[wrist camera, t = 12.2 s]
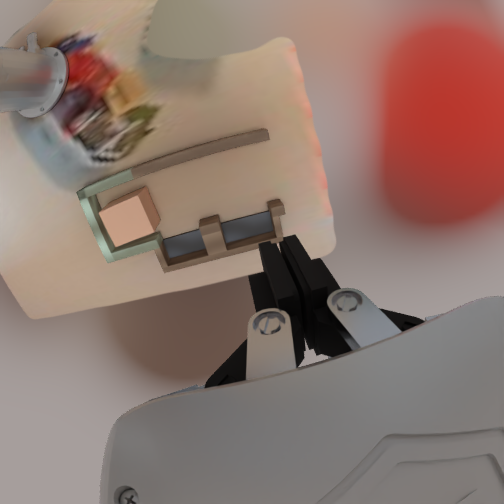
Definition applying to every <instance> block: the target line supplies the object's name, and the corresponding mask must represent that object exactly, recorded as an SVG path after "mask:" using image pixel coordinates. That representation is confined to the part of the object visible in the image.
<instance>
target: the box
mask: <svg viewBox="0 0 504 504" xmlns="http://www.w3.org/2000/svg"><path fill="white" fill-rule="evenodd" d="M266 140H270V138H269V133H268V129H260V130H255V131H251V132H247V133H242V134H238V135H234V136H230V137H226V138H222V139H218V140H215V141H211V142H208V143H204V144H200V145H197V146H194V147H190V148H187V149H184V150H181V151H177V152H174V153H171V154H168V155H165V156H162V157H159V158H156V159H153V160H151V161H148V162H145V163H142V164H140V165H137V166H134V167H132V168H129V169H126V170H124V171H121V172H119V173H116V174H114V175H111V176H109V177H107V178H104V179H102V180H99V181H97V182H95V183H93V184H90V185H88V186H86V187H84V188H82V189H81V190H79V191H78V192H76V193H77V195H78V198H79V200H80V203H81V205H82V208H83V210H84V213H85V215H86V218H87V220H88V222H89V225H90V227H91V229H92V231H93V234H94V236H95V238H96V240H97V242H98V245H99V247H100V249H101V251H102V253H103V255H104V257H105V259H106V261H107V263H110V262H114V261H117V260H120V259H124V258H127V257H130V256H134V255H137V254H140V253H144V252H147V251H151V250H154V251H155V253H156V255H157V258H158V260H159V262H160V264H161V267H162V269H163V271H164V273H166V272H170V271H174V270H178V269H182V268H185V267H189V266H193V265H197V264H201V263H205V262H208V261H212V260H216V259H220V258H224V257H228V256H231V255H235V254H239V253H243V252H247V251H250V250H254V249H258V248H259V246H258V243H262V242H266V241H271V243H276V244H277V243H279V242H280V241H283V233H282V228H281V223H280V218H279V216H280V215H284V214H285V210H284V205H283V204H282V202H281V201H280V199H278V200H274V201H270V202H267V203H268V208H269V211H266V212H262V213H258V214H254V215H251V216H247V217H243V218H239V219H235V220H232V221H228V222H224V223H220V220H219V216H218V215H216V216H212V217H209V218H205V219H202V220H200V223H199V229H198V230H195V231H191V232H188V233H184V234H181V235H177V236H174V237H170V238H167V239H162V236H161V234H160V232H157V233H154V234H150V235H147V236H144V237H141V238H138V239H135V240H133V241H130V242H128V243H125V244H123V245H120V246H118V247H115V245H114V243H113V241H112V239H111V237H110V235H109V233H108V231H107V229H106V227H105V225H104V223H103V221H102V219H101V217H100V215H99V212H100V211H101V208H100V206H99V203H98V201H97V198H96V195H95V194H97V193H100V192H102V191H104V190H107V189H109V188H112V187H114V186H117V185H119V184H122V183H125V182H127V181H130V180H133V179H135V178H138V177H141V176H144V175H146V174H149V173H152V172H155V171H158V170H161V169H164V168H167V167H170V166H173V165H176V164H179V163H183V162H186V161H189V160H193V159H196V158H199V157H203V156H206V155H210V154H213V153H217V152H221V151H225V150H228V149H232V148H236V147H240V146H244V145H249V144H253V143H257V142H262V141H266Z"/></svg>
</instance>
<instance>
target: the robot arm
mask: <svg viewBox="0 0 504 504" xmlns="http://www.w3.org/2000/svg"><path fill="white" fill-rule="evenodd" d="M27 45H28V50H27V51H26V50H25V46H22V47H20V48H19V49H18V50H17V49H11V48H5V47H0V113H1V112H8V111H16V110H17V111H18V112H19V113H20V114H21V115H22V116H25V117H29V118H33V117H38V116H41V115H43V114H45V113H47V112H48V111H49V110H50V109H52V108H53V106H54V105H55V104H56V103H57V102H58V100H59V99H60V97H61V95H62V93H63V91H64V89H65V86H66V84H67V79H68V72H69V68H68V61H67V58H66V56H65V54H64V53H63V52H62V51H61V50H59V49H57V48H53V47H46V48H42V49H40V46H39V45H37V33H36V32H33V33H30V34H29V35H28V36H27ZM62 81H63V82H62ZM279 245H280V251H281V253H280V251H279V248H278V246H277V244H276V243H271V241H266V242H262V243H258V246H259V251H260V256H261V260H262V265H263V270H264V272H261V273H257V274H253V275H249V276H248V277H249V282H250V286H251V291H252V295H253V300H254V304H255V309H256V314H255V315H253V316H252V317H251V319H250V320H249V323H248V338H247V339H246V340H245V341H244V342H243V343H242V344H241V345H240V346H239V348H238V349H237V350H236V351H235V352H234V353H233V354H232V355H231V356H230V357H229V358H228V359H227V360H226V361H225V362H224V363H223V364H222V365H221V366H220V367H219V369H217V370H216V372H215V373H214V374H213V375H212V376H211V377H210V378H209V379H208V380H207V382H206V384H205V385H203V386H200V387H198V385H194V386H191V387H188V388H185V389H182V390H179V391H176V392H173V393H170V394H167V395H164V396H161V397H158V398H155V399H151V400H149V401H147V402H145V403H143V404H141V405H138V406H136V407H134V408H132V409H130V410H129V411H127V412H126V413H124V414H123V415H121V416H120V417H119V418H118V419H117V421H116V422H115V424H114V425H113V427H112V429H111V431H110V434H109V437H108V440H107V444H106V448H105V453H104V458H103V465H102V473H101V482H100V504H504V297H502V296H494V297H485V298H481V299H477V300H474V301H471V302H469V303H466V304H464V305H462V306H460V307H457V308H455V309H453V310H451V311H449V312H446V313H444V314H440V315H435V316H430V317H426V318H425V321H423V320H421V319H420V318H417V317H414V316H409V315H405V314H401V313H397V312H393V311H388V310H384V309H380V308H378V307H377V306H376V305H375V304H374V303H373V302H372V301H371V300H370V299H369V298H368V297H367V296H366V295H365V294H364V293H362V292H361V291H359V290H356V289H353V288H342V289H341V288H340V287H339V285H338V283H337V282H336V280H335V279H334V278H333V276H332V274H331V273H330V271H329V270H328V268H327V267H326V265H325V264H324V263H323V261H322V260H321V259H320V258H317V259H313V260H311V259H310V257H309V255H308V254H307V252H306V251H305V249H304V247H303V246H302V244H301V243H300V241H299V239H298V238H297V236H296V235H291V236H287V237H283V241H280V242H279ZM304 338H305V339H304ZM305 340H306V343H307V345H308V348H309V350H310V349H314V351H315V353H316V355H320V354H324V355H327V356H328V359H326V360H323V361H320V362H316V363H313V364H309V365H306V366H302V367H298V366H299V365H300V364H301V362H302V361H303V359H304V351H306V349H305Z"/></svg>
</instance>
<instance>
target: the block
mask: <svg viewBox="0 0 504 504" xmlns="http://www.w3.org/2000/svg"><path fill="white" fill-rule="evenodd" d="M99 215H100V217H101V219H102V221H103V223H104V225H105V227H106V229H107V231H108V233H109V235H110V237H111V239H112V241H113V243H114V245H115V247H118V246H120V245H123V244H125V243H128V242H130V241H133V240H135V239H138V238H141V237H143V236H146V235H148V234H151V233H154V232H155V230H156V228H157V226H158V224H159V222H160V217H159V215H158V213H157V211H156V208H155V206H154V204H153V201H152V199H151V197H150V194H149V192H148V190H147V187H143V188H141V189H138V190H136V191H134V192H132V193H129V194H127V195H125V196H123V197H120V198H118V199H116V200H114V201H112V202H110V203H109V204H107V205H106V206H105V207H104V208H103V209H102V210H101V211H100V212H99Z"/></svg>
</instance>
